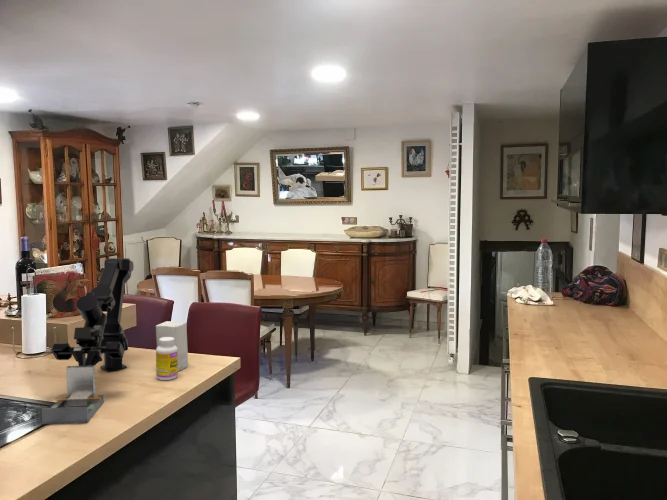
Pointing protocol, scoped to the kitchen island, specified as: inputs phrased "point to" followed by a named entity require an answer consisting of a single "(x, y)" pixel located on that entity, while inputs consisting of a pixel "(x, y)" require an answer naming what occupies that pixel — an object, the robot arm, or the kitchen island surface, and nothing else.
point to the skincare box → (175, 339)
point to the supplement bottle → (166, 359)
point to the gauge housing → (70, 412)
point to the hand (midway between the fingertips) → (82, 377)
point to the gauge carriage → (80, 385)
